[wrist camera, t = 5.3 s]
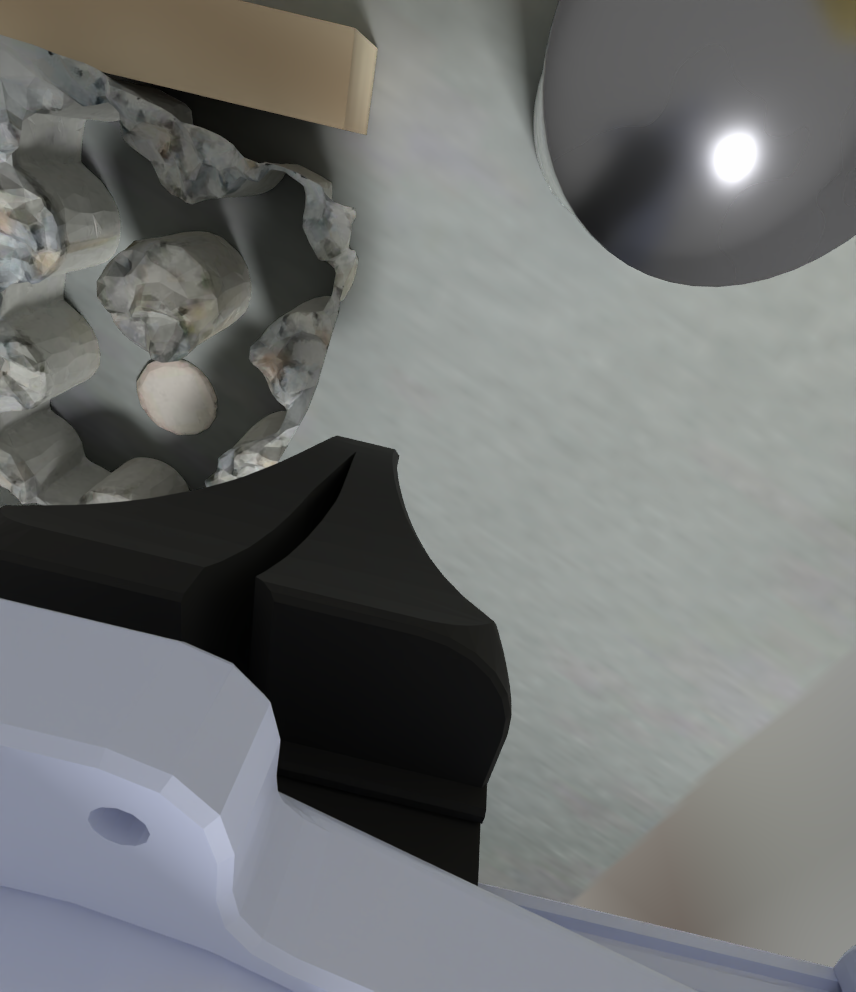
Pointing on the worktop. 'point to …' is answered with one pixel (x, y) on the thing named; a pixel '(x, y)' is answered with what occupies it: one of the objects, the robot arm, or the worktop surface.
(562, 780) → the worktop surface
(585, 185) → the jar with metallic lid
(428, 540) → the worktop surface
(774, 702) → the worktop surface
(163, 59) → the beech bay
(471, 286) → the worktop surface
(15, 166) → the egg carton
